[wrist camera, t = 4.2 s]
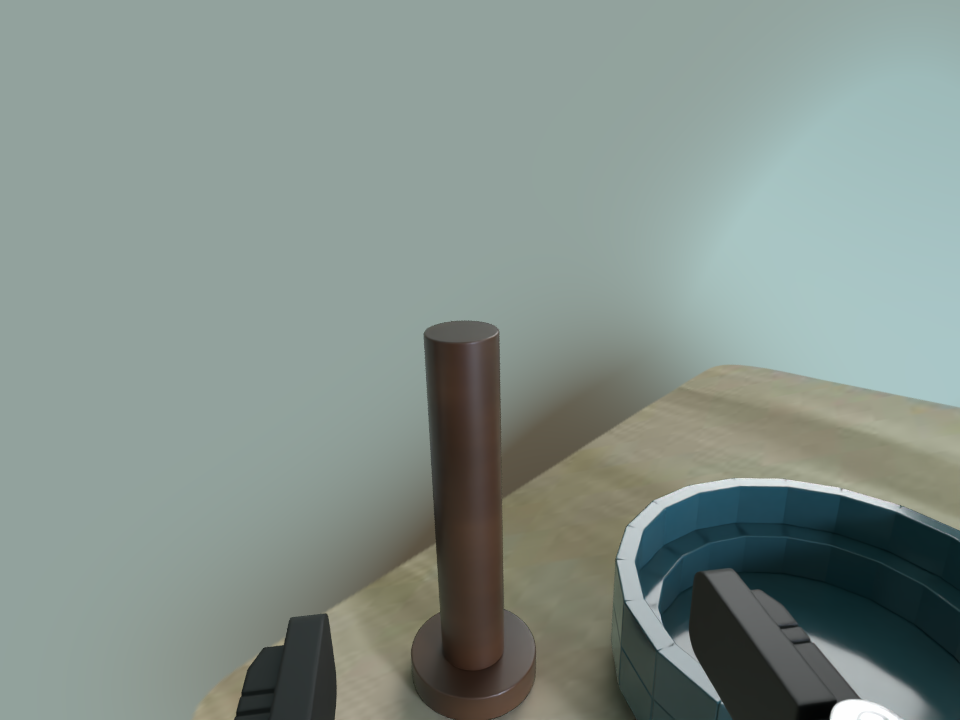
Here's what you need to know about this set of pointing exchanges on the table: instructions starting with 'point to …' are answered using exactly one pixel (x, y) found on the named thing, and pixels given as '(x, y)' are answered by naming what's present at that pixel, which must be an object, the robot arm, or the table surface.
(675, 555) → the bowl
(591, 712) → the table surface
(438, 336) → the brown post with base
